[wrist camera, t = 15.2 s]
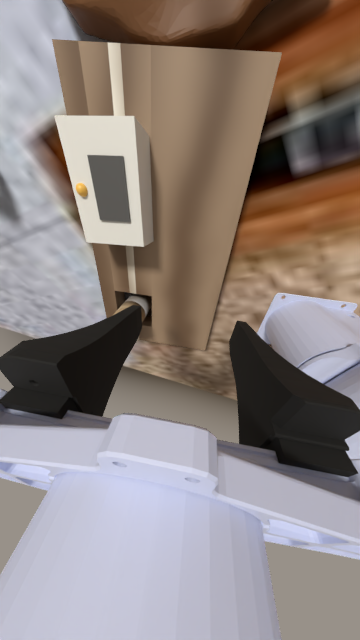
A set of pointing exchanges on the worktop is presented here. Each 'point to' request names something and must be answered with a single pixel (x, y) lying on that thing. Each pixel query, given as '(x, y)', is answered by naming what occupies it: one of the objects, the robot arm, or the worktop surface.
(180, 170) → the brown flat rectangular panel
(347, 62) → the worktop surface
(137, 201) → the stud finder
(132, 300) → the peg
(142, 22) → the plant
